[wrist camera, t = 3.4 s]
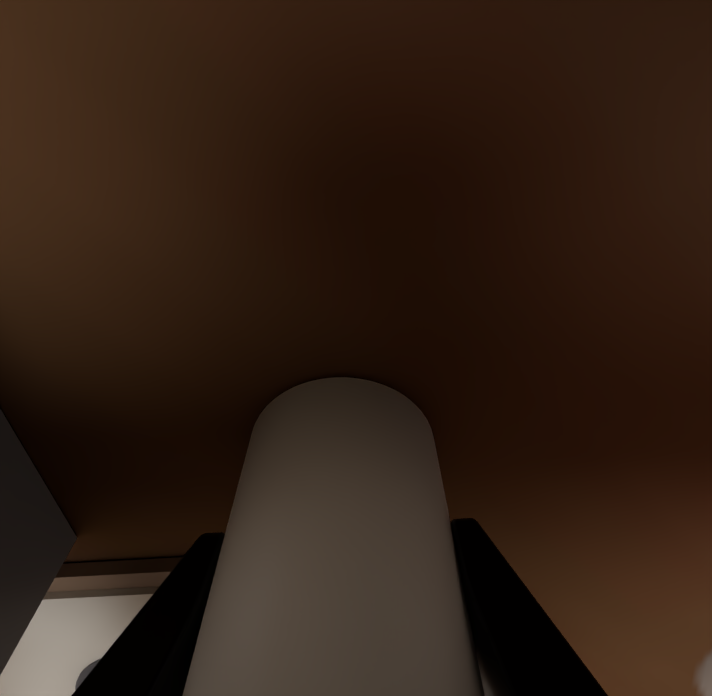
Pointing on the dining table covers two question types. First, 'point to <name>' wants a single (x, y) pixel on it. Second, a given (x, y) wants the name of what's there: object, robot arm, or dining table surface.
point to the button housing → (25, 540)
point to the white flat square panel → (79, 623)
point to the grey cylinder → (337, 557)
